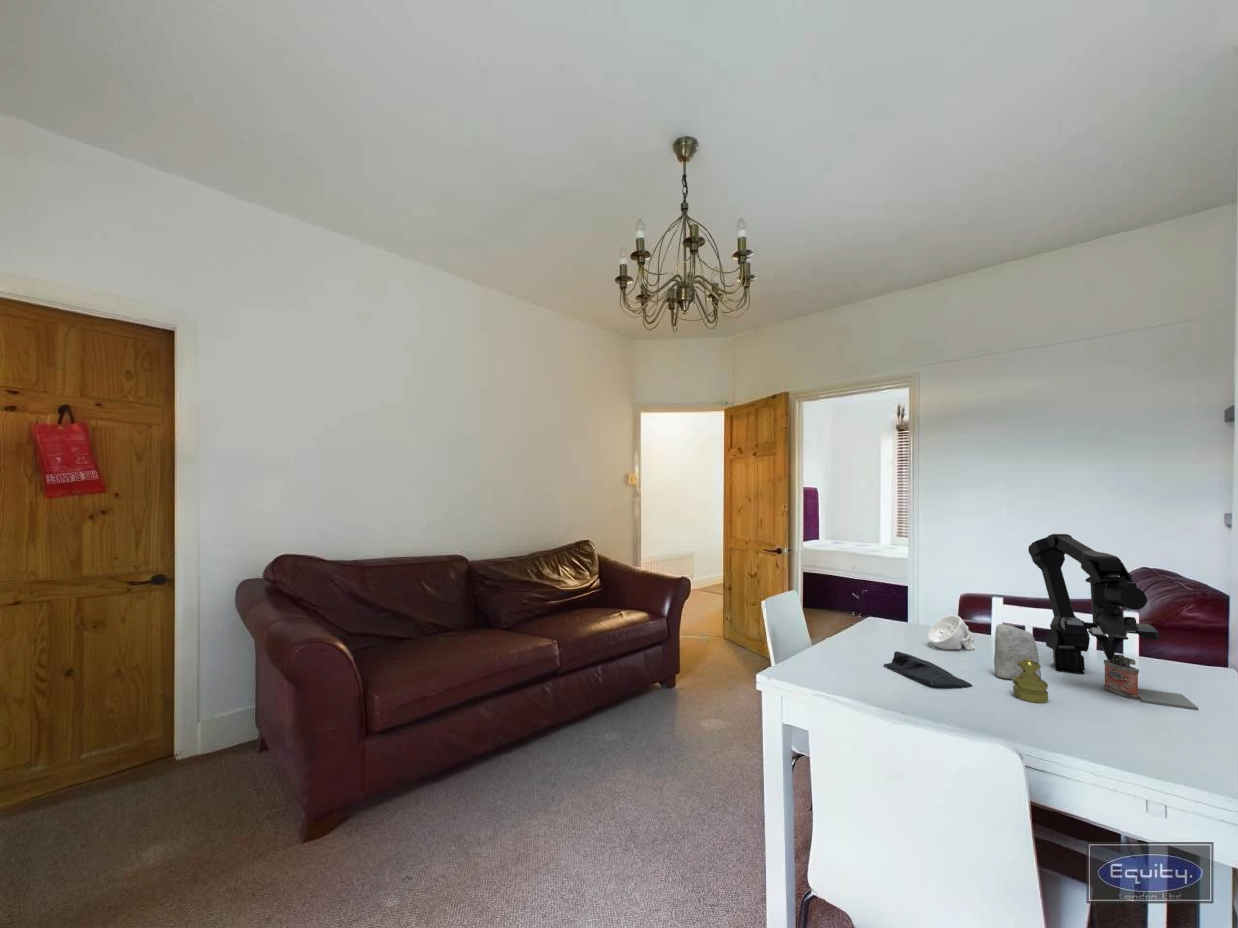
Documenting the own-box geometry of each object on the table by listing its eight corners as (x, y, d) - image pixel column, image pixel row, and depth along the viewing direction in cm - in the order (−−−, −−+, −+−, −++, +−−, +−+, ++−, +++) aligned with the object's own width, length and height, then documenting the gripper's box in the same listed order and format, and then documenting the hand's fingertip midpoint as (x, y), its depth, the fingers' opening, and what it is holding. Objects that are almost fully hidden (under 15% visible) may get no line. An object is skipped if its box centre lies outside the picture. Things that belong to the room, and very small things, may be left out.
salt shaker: (1040, 705, 131) (1037, 665, 132) (1007, 695, 138) (1005, 657, 138) (1054, 699, 135) (1052, 661, 135) (1021, 690, 141) (1019, 653, 142)
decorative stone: (1037, 677, 151) (1034, 625, 152) (1044, 684, 145) (1040, 630, 146) (992, 672, 155) (989, 622, 156) (997, 679, 150) (994, 627, 151)
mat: (1142, 702, 132) (1142, 699, 132) (1129, 689, 141) (1129, 687, 141) (1198, 710, 127) (1198, 707, 127) (1181, 696, 136) (1181, 693, 136)
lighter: (1099, 686, 142) (1100, 650, 142) (1110, 687, 142) (1111, 650, 143) (1131, 699, 134) (1131, 660, 134) (1142, 699, 134) (1143, 660, 135)
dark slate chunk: (926, 692, 142) (925, 674, 143) (879, 665, 164) (879, 650, 165) (978, 689, 144) (977, 672, 144) (925, 663, 166) (924, 648, 166)
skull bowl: (990, 647, 176) (970, 617, 176) (958, 670, 174) (938, 640, 174) (967, 638, 186) (948, 610, 186) (937, 660, 185) (918, 632, 185)
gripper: (1067, 603, 139) (1070, 662, 138) (1164, 611, 129) (1169, 674, 128) (1059, 596, 148) (1062, 651, 147) (1149, 603, 138) (1153, 662, 137)
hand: (1109, 659), depth 140 cm, fingers closed
